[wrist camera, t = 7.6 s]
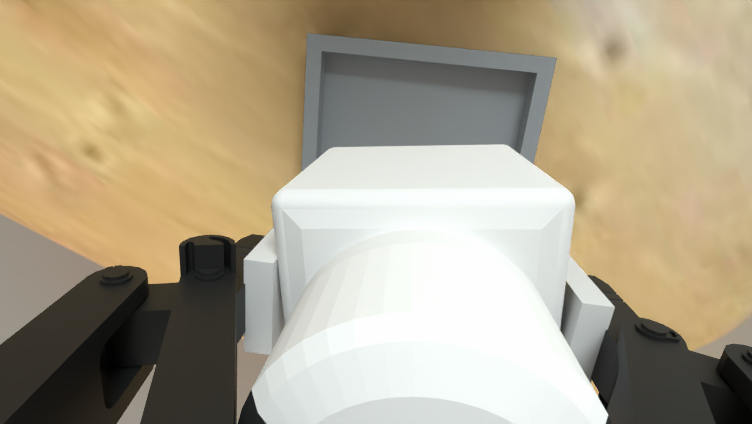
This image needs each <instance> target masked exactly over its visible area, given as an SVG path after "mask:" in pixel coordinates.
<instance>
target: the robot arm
mask: <svg viewBox="0 0 752 424" xmlns="http://www.w3.org/2000/svg"><path fill="white" fill-rule="evenodd" d="M179 253H180V271H181V277H180V281H179V282H178V283H166V284H148V277H147V273H146V271H145V270H143V269H141V268H139V267H133V266H121V265H119V266H115V267H113V266H112V267H107V268H105V269H103V270H100V271H97V272H95V273H93V274H91V275H89V276H88V277H86V278H85V279H84V280H82V281H81V282H80V283H79V284H77V285H76V286H75V287H74V288H72V289H71V290H70V291H68V292H67V293H66V294H65V295H63V296H62V297H61V298H60V299H58V300H57V301H56V302H54V303H53V304H52V305H51V306H49V307H48V308H47V309H46V310H44V311H43V312H42V313H40V314H39V315H38V316H37V317H35V318H34V319H33V320H31V321H30V322H29V323H28V324H26V325H25V326H24V327H23V328H21V329H20V330H19V331H17V332H16V333H15V334H14V335H12V336H11V337H10V338H8V339H7V340H6V341H5V342H3V343H2V344H1V345H0V424H117V422H118V420H119V419H120V418H121V416H122V415H123V413H124V412H125V410H126V409H127V407H128V406H129V404H130V402H131V401H132V399H133V398H134V396H135V395H136V393H137V392H138V390H139V389H140V387H141V386H142V384H143V383H144V381H145V380H146V378H147V377H148V375H149V373H150V372H151V371H152V369H153V366H154V364H156V368H155V372H154V375H153V379H152V383H151V386H150V390H149V393H148V397H147V401H146V405H145V408H144V412H143V416H142V419H141V423H140V424H236V416H237V414H236V413H237V412H236V411H237V343H238V342H239V340H240V339H241V337H242V336H243V334H244V351H247V352H253V353H260V354H267V355H270V353H271V351H272V349H273V348H274V346H275V344H276V342H277V340H278V338H279V336H280V334H281V332H282V330H283V328H284V327H285V322H284V314H283V305H282V296H281V287H280V278H279V270H278V261H277V252H276V243H275V234H274V227H273V228H272V230H271V231H270V232H269V233H268V234H267V235H266V236H262V235H254V234H252V235H249V236H247V237H244V238H242V239H240V240H239V241H238V242H237V243H235V241H234V240H233V239H231V238H229V237H225V236H220V235H203V236H197V237H192V238H189V239H187V240H185V241H183V242H182V243H181V244H180V245H179ZM560 331H561V333H562V334H563V336H564V338H565V340H566V341H567V343H568V345H569V347H570V348H571V350H572V352H573V354H574V355H575V357H576V359H577V361H578V363H579V364H580V366H581V368H582V370H583V371H584V373H585V375H586V377H587V378H588V380H589V382H590V384H591V380H592V381H593V382H594V384H595V386H596V387H597V389H598V391H599V395H598V398H599V399H600V401H601V403H602V405H603V406H604V408H605V410H606V412H607V413H608V415H609V418H610V420H611V423H612V424H752V347H749V346H745V345H739V344H730V345H726V347H725V349H724V351H723V354H722V356H721V358H720V359H717V358H713V357H709V356H706V355H703V354H700V353H696V352H693V351H690V350H688V348H687V345H686V342H685V341H684V339H683V338H682V337H681V336H680V335H679V334H678V333H677V332H675V331H674V330H672V329H670V328H669V327H667V326H665V325H663V324H660V323H658V322H655V321H652V320H649V319H644V318H640V317H638V316H637V315H636V314H635V312H634V311H633V310H632V309H631V308H630V307H629V306H628V305H627V304H626V303H625V302H623V300H622V299H621V298H620V296H619V295H616V292H615V291H614V290H613V289H612V288H611V287H610V286H609V285H608V284H607V283H605V282H603V281H602V280H600V279H599V278H597V277H595V276H591V275H586V273H585V272H584V271H583V270H582V269H581V268H580V267H579V265H578V264H577V263H576V262H575V261H574V260H573V259H572V258H571V256H570V255H569V261H568V269H567V277H566V285H565V293H564V302H563V310H562V318H561V326H560Z"/></svg>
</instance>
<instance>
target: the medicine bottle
mask: <svg viewBox="0 0 752 424" xmlns="http://www.w3.org/2000/svg"><path fill="white" fill-rule="evenodd" d="M271 208H272V217H273V226H274V234H275V243H276V252H277V261H278V270H279V278H280V287H281V296H282V305H283V314H284V322H285V327H284V328H283V330H282V332H281V334H280V336H279V338H278V340H277V342H276V344H275V346H274V348H273V349H272V351H271V353H270V355H269V357H268V359H267V361H266V363H265V365H264V367H263V368H262V370H261V372H260V374H259V376H258V378H257V380H256V382H255V384H254V386H253V388H252V389H251V391H250V393H249V396H248V398H247V400H246V402H245V404H244V406H243V408H242V411H241V414H240V418H239V421H238V424H612V423H611V420H610V418H609V415H608V413H607V412H606V410H605V408H604V406H603V405H602V403H601V401H600V399H599V398H598V396H597V394H596V392H595V391H594V389H593V387H592V385H591V384H590V382H589V380H588V378H587V377H586V375H585V373H584V371H583V370H582V368H581V366H580V364H579V363H578V361H577V359H576V357H575V355H574V354H573V352H572V350H571V348H570V347H569V345H568V343H567V341H566V340H565V338H564V336H563V334H562V333H561V331H560V326H561V318H562V310H563V302H564V293H565V285H566V277H567V269H568V261H569V252H570V244H571V236H572V228H573V220H574V212H575V202H574V197H573V195H572V194H571V193H570V192H569V191H568V190H567V189H566V188H565V187H563V186H562V185H561V184H559V183H558V182H557V181H555V180H554V179H552V178H551V177H550V176H548V175H547V174H546V173H544V172H543V171H542V170H540V169H539V168H538V167H536V166H535V165H534V164H532V163H531V162H530V161H528V160H527V159H525V158H524V157H523V156H521V155H520V154H519V153H517V152H516V151H515V150H513V149H512V148H511V147H509V146H508V145H504V144H494V145H434V146H374V147H333V148H330V149H328V150H327V151H326V152H325V153H324V154H322V155H321V156H320V157H319V158H318V159H316V160H315V161H314V162H313V163H312V164H310V165H309V166H308V167H307V168H306V169H304V170H303V171H302V172H301V173H300V174H298V175H297V176H296V177H295V178H294V179H292V180H291V181H290V182H289V183H288V184H286V185H285V186H284V187H283V188H282V189H280V190H279V191H278V192H277V193H276V194H275V195H274V196H273V199H272V206H271Z"/></svg>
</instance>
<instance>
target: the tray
mask: <svg viewBox="0 0 752 424" xmlns="http://www.w3.org/2000/svg"><path fill="white" fill-rule="evenodd" d="M556 60H557V58H553V57H543V56H533V55H523V54H513V53H503V52H493V51H482V50H472V49H462V48H452V47H442V46H432V45H422V44H412V43H402V42H392V41H382V40H372V39H362V38H352V37H342V36H332V35H322V34H312V33H307V52H306V76H305V100H304V124H303V148H302V171H303V170H304V169H306V168H307V167H308V166H309V165H310V164H312V163H313V162H314V161H315V160H316V159H318V158H319V157H320V156H321V155H322V154H324V153H325V152H326V151H327V150H328V149H330V148H333V147H374V146H434V145H494V144H504V145H508V146H509V147H511V148H512V149H513V150H515V151H516V152H517V153H519V154H520V155H521V156H523V157H524V158H525V159H527V160H528V161H530V162H531V163H532V164H533V163H534V159H535V154H536V150H537V145H538V141H539V136H540V132H541V127H542V123H543V118H544V114H545V109H546V105H547V100H548V96H549V91H550V87H551V82H552V78H553V73H554V69H555V64H556Z"/></svg>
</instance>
